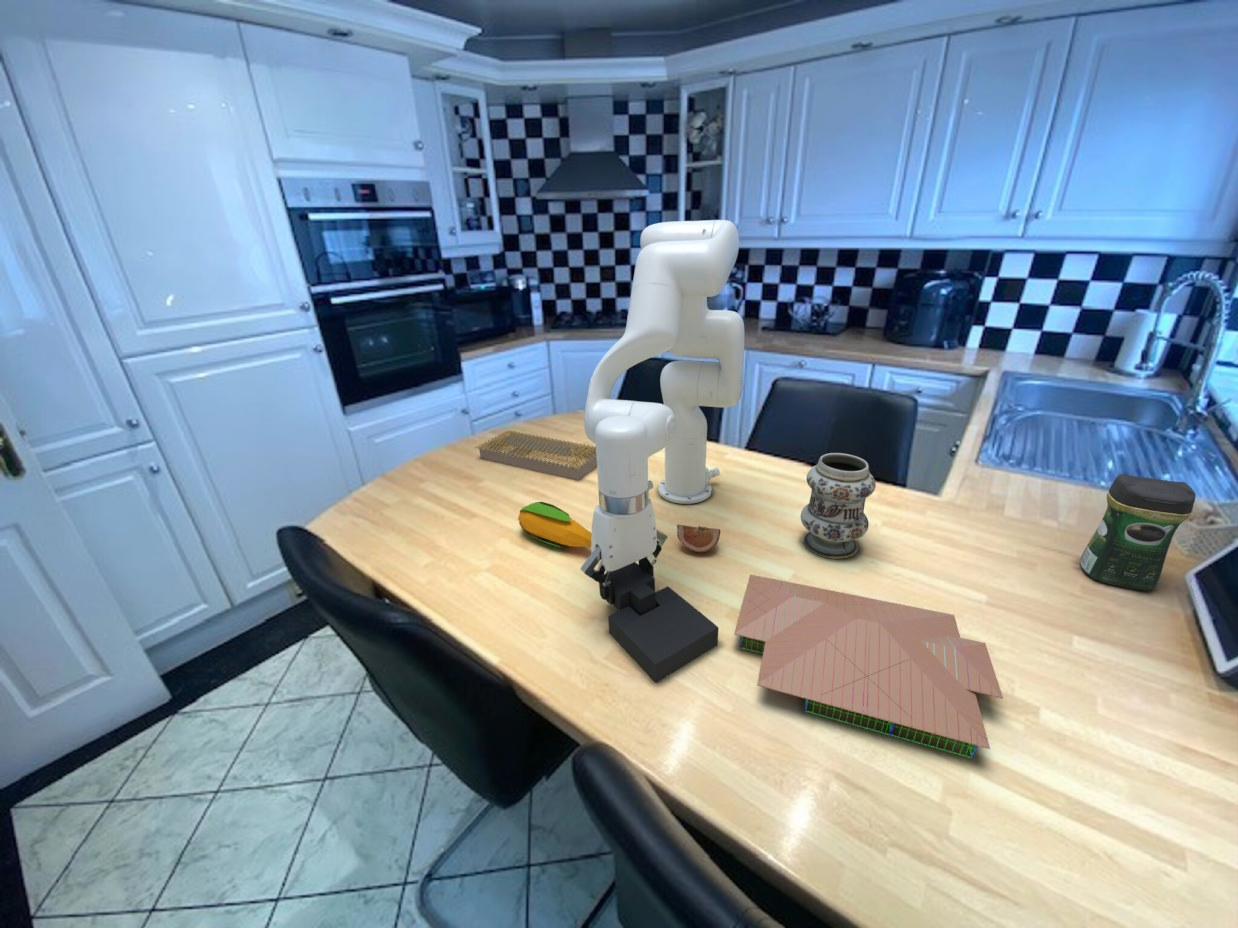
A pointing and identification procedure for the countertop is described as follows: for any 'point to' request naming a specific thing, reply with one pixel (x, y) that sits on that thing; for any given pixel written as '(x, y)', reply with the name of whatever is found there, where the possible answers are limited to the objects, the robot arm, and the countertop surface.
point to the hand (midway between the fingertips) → (627, 590)
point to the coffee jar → (1137, 531)
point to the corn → (553, 525)
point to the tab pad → (634, 589)
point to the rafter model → (541, 444)
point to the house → (869, 659)
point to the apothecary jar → (837, 505)
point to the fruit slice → (698, 537)
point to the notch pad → (663, 634)
